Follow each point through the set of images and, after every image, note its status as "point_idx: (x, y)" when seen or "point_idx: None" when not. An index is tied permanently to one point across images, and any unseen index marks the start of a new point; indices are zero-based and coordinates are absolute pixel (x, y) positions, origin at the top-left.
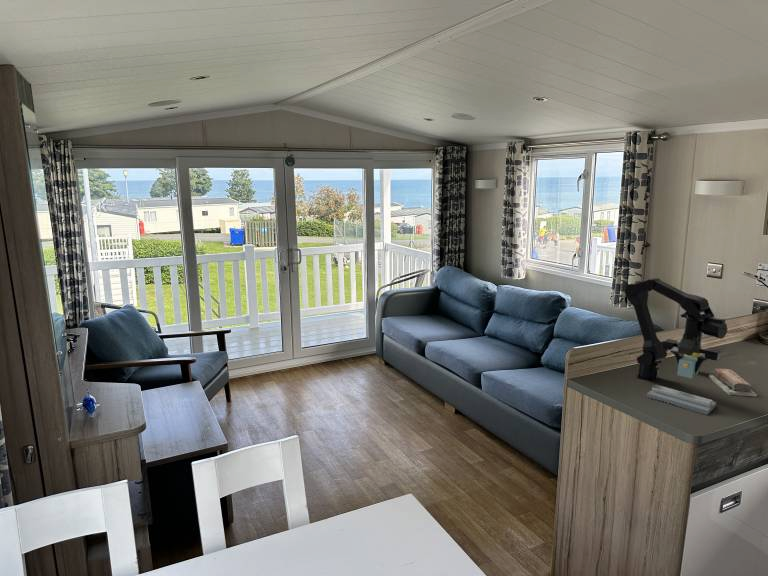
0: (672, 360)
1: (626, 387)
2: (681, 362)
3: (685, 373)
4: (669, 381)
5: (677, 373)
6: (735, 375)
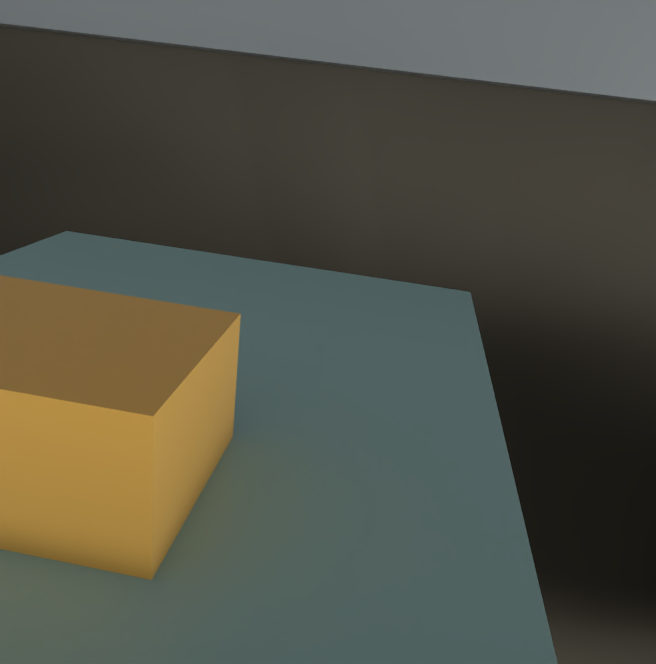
0: None
1: None
2: (327, 627)
3: (205, 290)
4: (568, 589)
5: (466, 305)
6: None
